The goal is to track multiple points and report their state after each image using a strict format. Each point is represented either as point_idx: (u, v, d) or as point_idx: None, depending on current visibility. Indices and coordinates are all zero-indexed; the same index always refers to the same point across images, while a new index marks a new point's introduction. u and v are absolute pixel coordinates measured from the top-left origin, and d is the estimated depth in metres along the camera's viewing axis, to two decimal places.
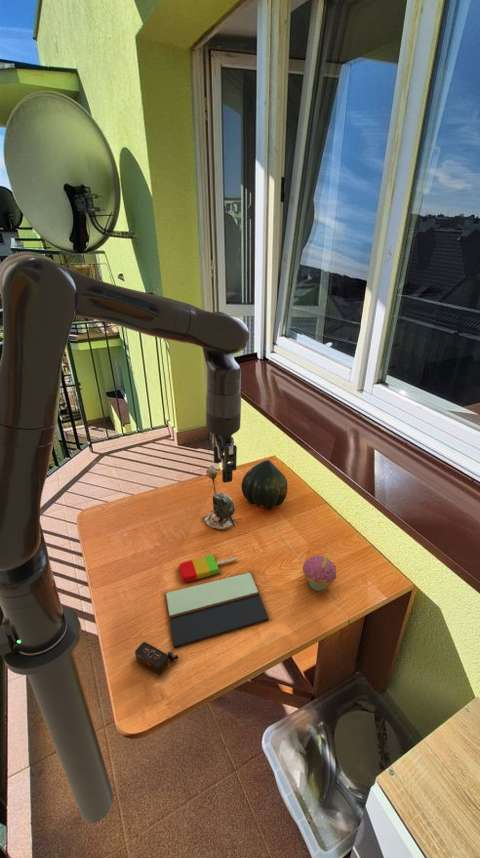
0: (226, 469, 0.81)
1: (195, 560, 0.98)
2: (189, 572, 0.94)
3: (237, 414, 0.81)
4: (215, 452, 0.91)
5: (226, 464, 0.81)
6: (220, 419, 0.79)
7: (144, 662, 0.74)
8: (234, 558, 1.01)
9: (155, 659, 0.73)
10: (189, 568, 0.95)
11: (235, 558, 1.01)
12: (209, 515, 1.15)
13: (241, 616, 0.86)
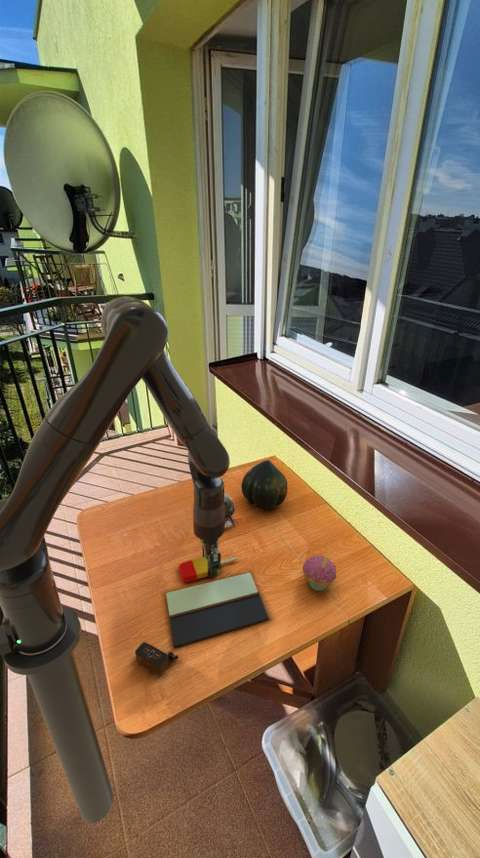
0: (210, 570, 0.91)
1: (195, 560, 0.98)
2: (189, 572, 0.94)
3: (221, 522, 0.89)
4: (204, 550, 0.99)
5: (210, 567, 0.90)
6: (205, 528, 0.87)
7: (144, 662, 0.74)
8: (234, 558, 1.01)
9: (155, 659, 0.73)
10: (189, 568, 0.95)
11: (235, 558, 1.01)
12: None
13: (241, 616, 0.86)
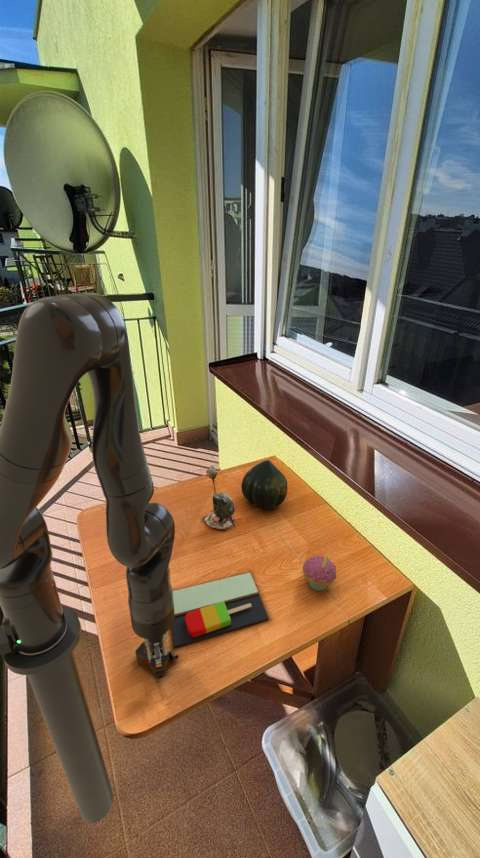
0: (154, 676, 0.68)
1: (203, 610, 0.85)
2: (197, 625, 0.81)
3: (167, 614, 0.66)
4: None
5: (153, 673, 0.67)
6: (144, 625, 0.65)
7: (145, 662, 0.74)
8: (248, 605, 0.88)
9: None
10: (197, 619, 0.82)
11: (249, 605, 0.88)
12: (209, 515, 1.15)
13: (241, 616, 0.86)
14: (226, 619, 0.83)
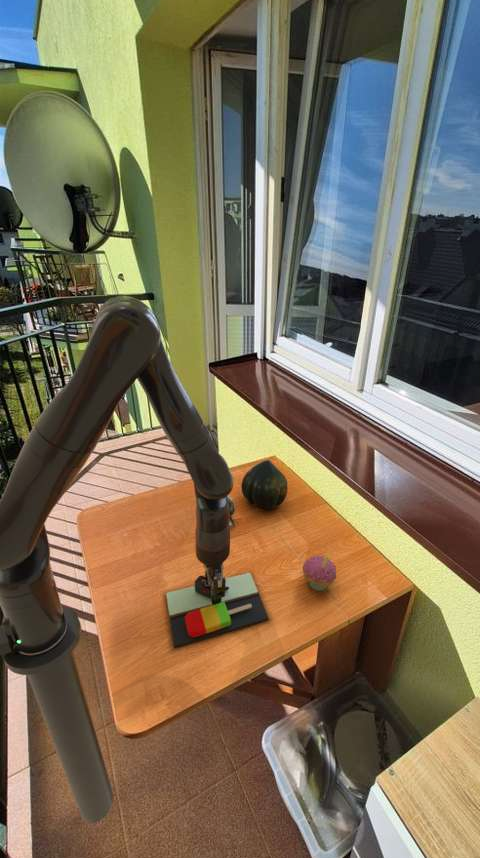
0: (214, 597, 0.83)
1: (204, 610, 0.84)
2: (197, 625, 0.81)
3: (226, 545, 0.81)
4: (206, 572, 0.91)
5: (215, 595, 0.82)
6: (209, 553, 0.80)
7: (202, 590, 0.89)
8: (248, 606, 0.87)
9: None
10: (197, 620, 0.82)
11: (249, 606, 0.87)
12: None
13: (241, 616, 0.86)
14: (226, 620, 0.83)
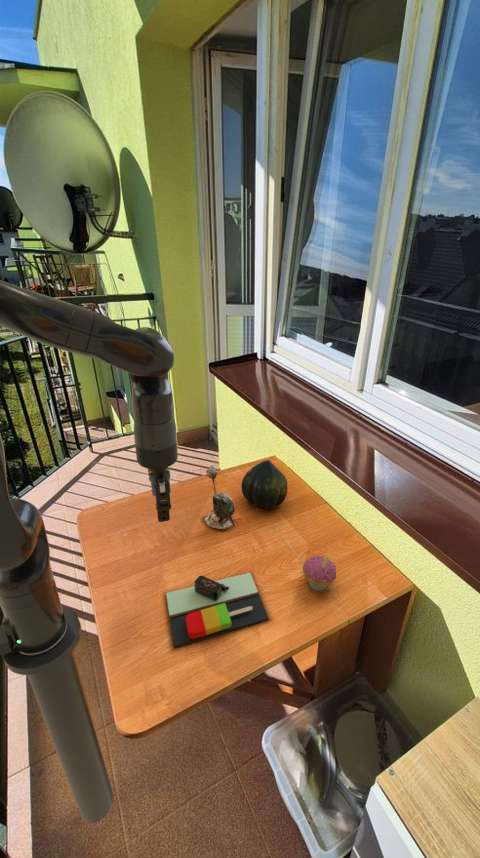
0: (158, 509, 0.70)
1: (204, 611, 0.84)
2: (197, 626, 0.81)
3: (170, 445, 0.69)
4: None
5: (158, 503, 0.69)
6: (149, 452, 0.68)
7: (202, 590, 0.89)
8: (249, 608, 0.87)
9: (212, 587, 0.88)
10: (198, 621, 0.82)
11: (250, 608, 0.87)
12: (209, 515, 1.15)
13: (241, 616, 0.86)
14: (226, 621, 0.82)
